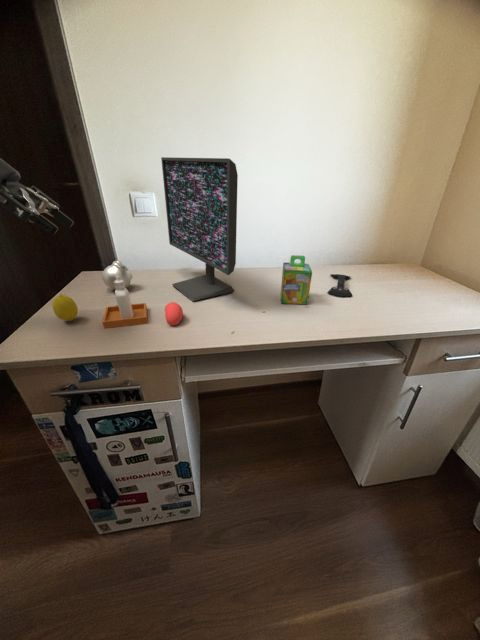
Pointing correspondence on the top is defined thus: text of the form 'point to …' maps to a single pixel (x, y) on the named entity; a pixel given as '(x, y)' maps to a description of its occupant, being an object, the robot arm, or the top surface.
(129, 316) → the eye dropper bottle
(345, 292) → the dark flared piece
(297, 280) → the chalk box
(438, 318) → the top surface
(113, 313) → the amber tray
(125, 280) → the silver rounded lump
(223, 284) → the computer monitor
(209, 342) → the top surface
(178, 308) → the red kidney bean shape
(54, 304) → the lemon
